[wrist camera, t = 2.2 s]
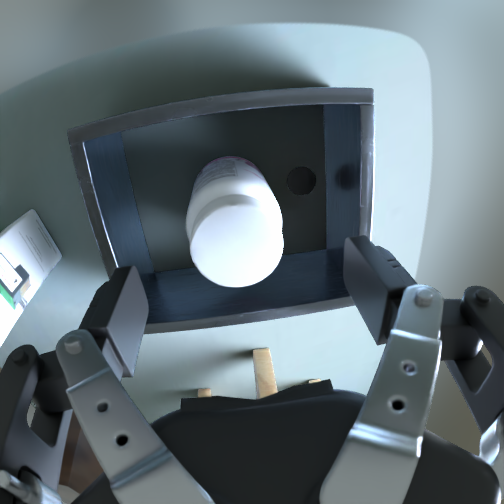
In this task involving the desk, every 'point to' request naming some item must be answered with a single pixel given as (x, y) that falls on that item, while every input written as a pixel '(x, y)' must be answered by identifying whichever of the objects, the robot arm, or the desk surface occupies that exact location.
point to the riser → (77, 463)
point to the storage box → (299, 182)
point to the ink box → (23, 266)
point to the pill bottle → (234, 223)
